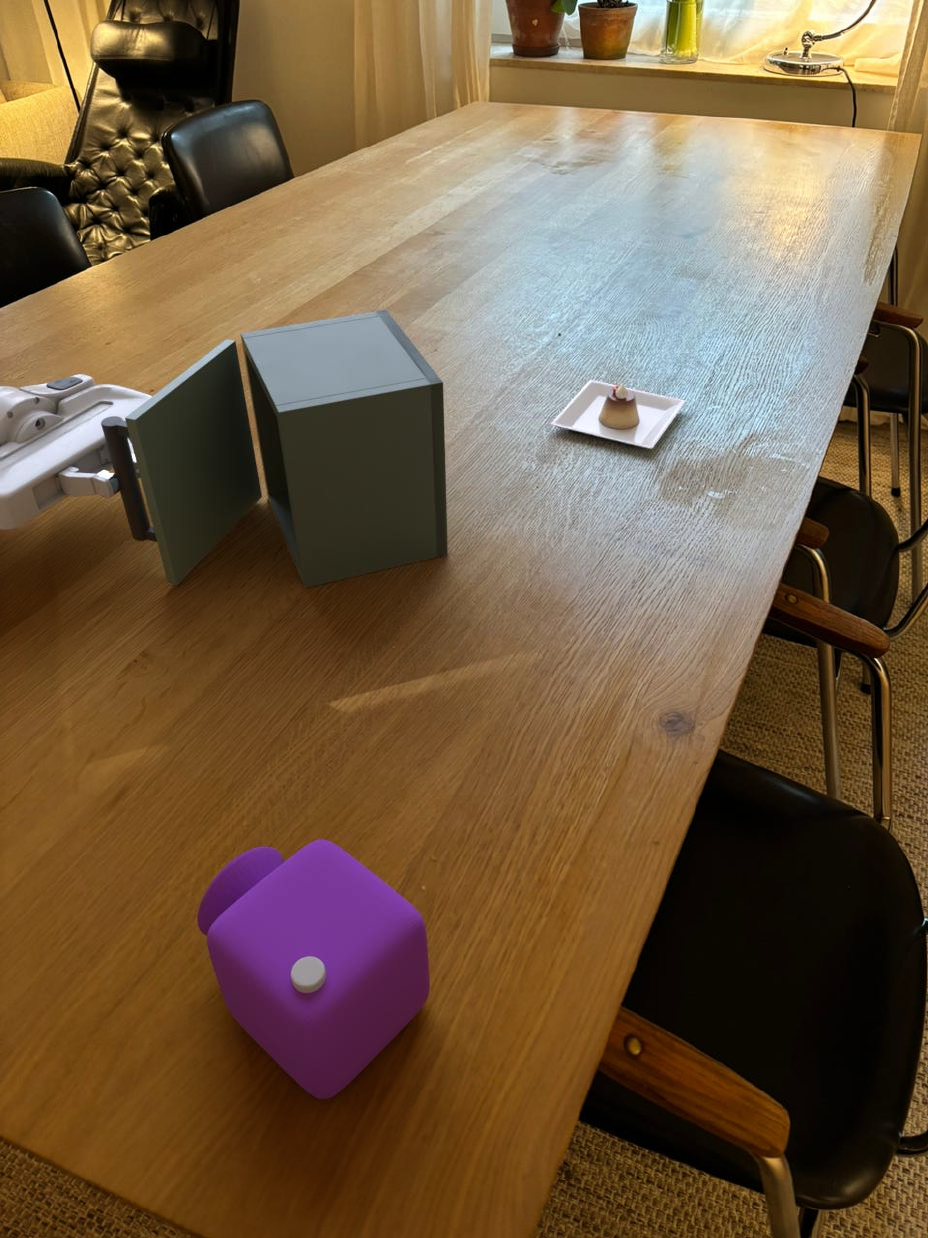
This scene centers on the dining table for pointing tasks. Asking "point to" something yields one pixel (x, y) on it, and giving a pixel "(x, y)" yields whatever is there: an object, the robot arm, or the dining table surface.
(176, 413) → the door
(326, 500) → the housing
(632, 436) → the dessert
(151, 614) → the dining table surface
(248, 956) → the toy camera
